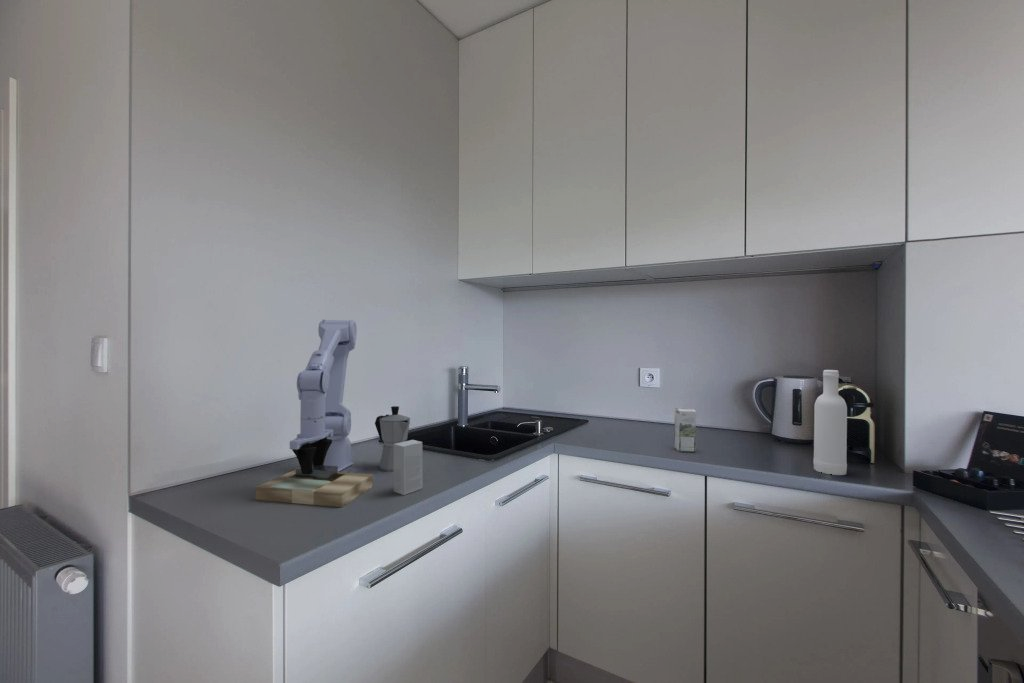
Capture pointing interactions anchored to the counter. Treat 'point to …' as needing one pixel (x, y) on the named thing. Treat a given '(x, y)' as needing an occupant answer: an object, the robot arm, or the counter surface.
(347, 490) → the bamboo board
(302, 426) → the robot arm
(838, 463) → the bottle
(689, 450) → the syrup box
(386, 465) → the coffee maker
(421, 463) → the skincare box
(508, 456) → the counter surface
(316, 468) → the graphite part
